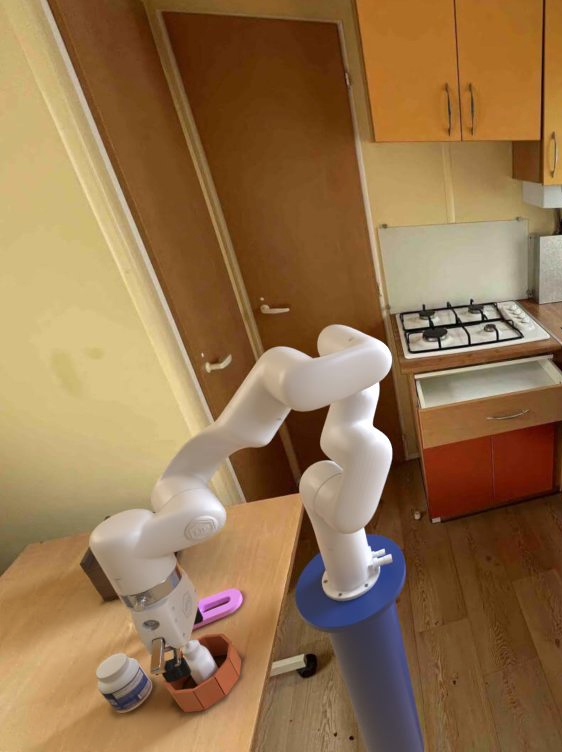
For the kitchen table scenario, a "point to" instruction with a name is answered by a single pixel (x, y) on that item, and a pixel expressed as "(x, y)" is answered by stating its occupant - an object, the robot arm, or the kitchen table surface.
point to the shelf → (101, 574)
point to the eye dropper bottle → (199, 661)
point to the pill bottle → (123, 682)
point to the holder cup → (213, 686)
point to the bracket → (221, 611)
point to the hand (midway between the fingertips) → (186, 649)
